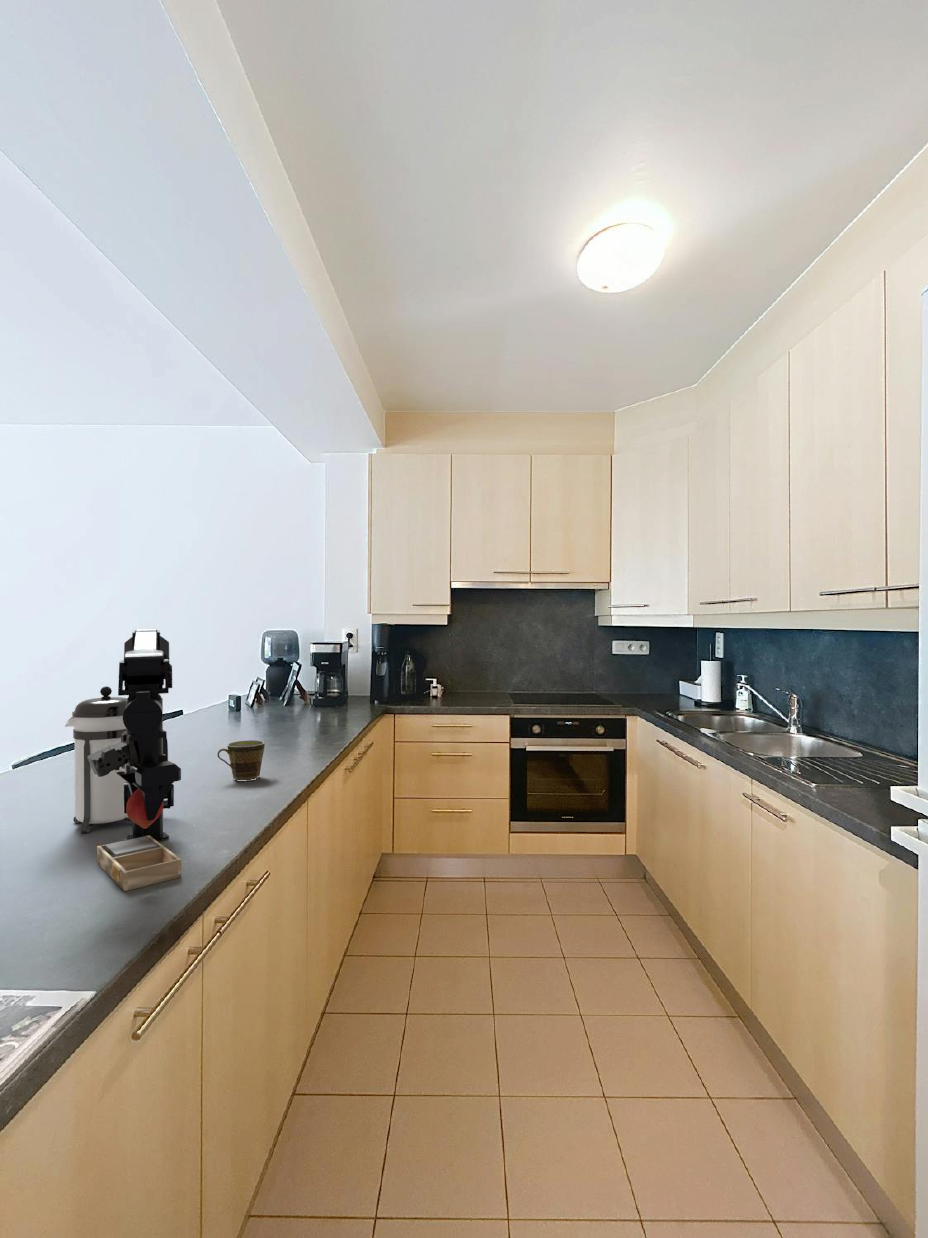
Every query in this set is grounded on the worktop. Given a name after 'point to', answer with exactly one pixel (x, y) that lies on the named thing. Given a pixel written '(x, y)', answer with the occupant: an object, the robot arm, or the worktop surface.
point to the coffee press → (93, 732)
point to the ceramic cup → (245, 758)
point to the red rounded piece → (139, 810)
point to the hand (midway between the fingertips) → (145, 816)
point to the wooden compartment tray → (138, 862)
